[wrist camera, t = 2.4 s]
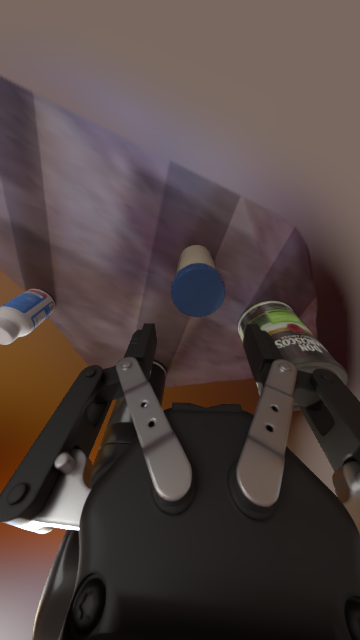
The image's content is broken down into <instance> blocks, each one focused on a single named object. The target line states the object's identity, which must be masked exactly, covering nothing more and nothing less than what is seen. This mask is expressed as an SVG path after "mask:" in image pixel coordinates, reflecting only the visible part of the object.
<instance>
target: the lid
mask: <svg viewBox="0 0 360 640" xmlns="http://www.w3.org/2000/svg"><path fill="white" fill-rule="evenodd" d="M224 287H225V286H224V283H223V281H222V279H221V276H220V274H219V273H218V271H217V270H215V269H214V268H213V267H212V266H210V265H207V264H206V263H205V264H203V263H193V264H190V265H187V266H185V267H183V268H182V269H181V270H180V271H178V273H177V274H176V276H175V278H174V281H173V282H172V291H171V296H172V300H173V303H174V305H175V306H176V307H177V309H178V310H179V311H181V312H182V313H184V314H186V315H189V316H193V317H202V316H206V315H209V314H211V313H213V312H214V311H216V310H217V309H218V308H219V307H220V305H221V304H222V302H223V299H224V296H225V288H224Z"/></svg>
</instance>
